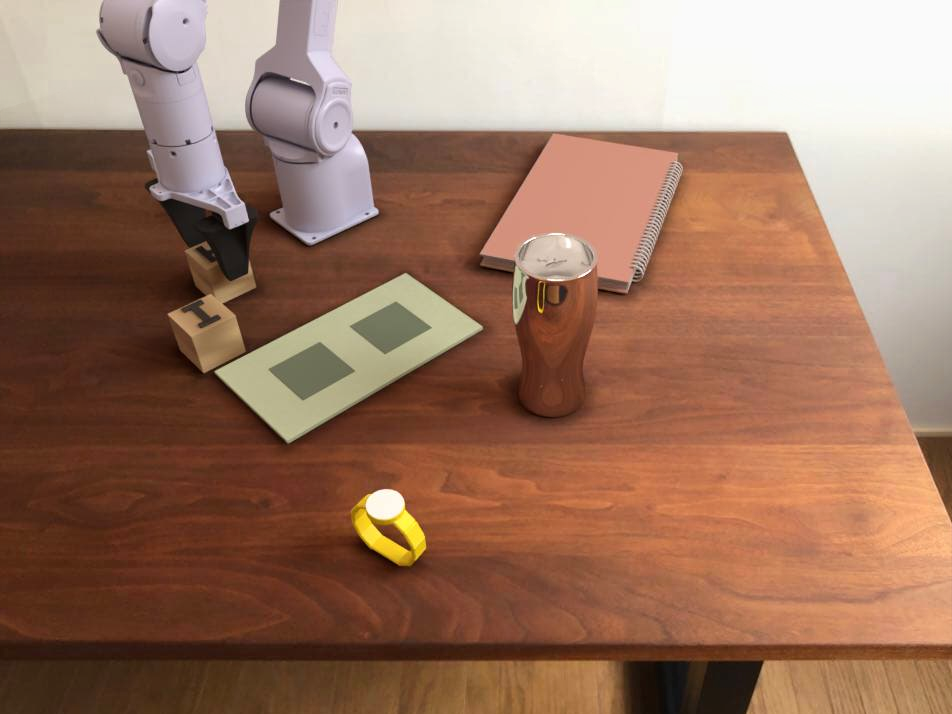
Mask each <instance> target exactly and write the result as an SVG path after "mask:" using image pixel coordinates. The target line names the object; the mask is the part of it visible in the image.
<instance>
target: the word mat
mask: <svg viewBox="0 0 952 714" xmlns="http://www.w3.org/2000/svg"><path fill="white" fill-rule="evenodd" d="M483 330H484V328H483V325H481V324H479V323H478V322H477V321H475V320H474V319H473V318H471V317H470V316H468V315H467V314H465V313H464V312H462V311H461V310H460V309H458V308H457V307H455V306H454V305H453V304H451V303H450V302H448V301H446V299H444V298H443V297H441V296H440V295H438V294H437V293H435V292H434V291H433V290H431V289H429V288H428V287H427V286H425V284H423V283H421V282H419V281H418V280H417V279H416V278H414V277H412V276H411V275H409V274H408V273H407V272H404V273H403V274H401V275H399V276H397V277H394V278H393V279H390V280H389V281H387V282H385V283H384V284H381V285H379V286H378V287H376V288H373V289H371V290H369V291H367V292H366V293H364V294H362V295H360V296H358V297H356V298H354V299H352V300H350V301H348V302H346V303H344V304H342V305H340V306H338V307H337V308H335V309H332V310H331V311H329V312H327V313H324V314H323V315H321V316H318V317H317V318H315V319H313V320H311V321H310V322H307V323H305V324H303V325H302V326H300V327H297V328H295V329H293V330H291V331H289V332H288V333H285V334H284V335H282V336H280V337H277V338H276V339H274V340H273V341H270V342H269V343H267V344H264V345H263V346H260V347H258V348H257V349H255V350H253V351H251V352H249V353H246V354H245V355H243V356H242V357H240V358H239V357H238V358H237V359H235V360H234V361H232V362H230V363H228V364H226V365H224V366H222V367H220V368H218V369H216V370H214V375H216V377H217V378H219V380H220V381H221V382H222V383H224V384H225V385H226V386H227V387H228V388H229V389H230V390H231V391H232V392H233V393H234V394H235V395H236V396H237V397H238V398H239V399H240V400H241V401H243V403H245V404H246V406H247V407H249V408H250V409H251V410H252V411H253V413H255V414H256V415H257V416H258V417H259V418H260V419H261V420H262V421H263V422H264V423H265V424H266V425H267V426H268V427H270V428H271V429H272V430H273V432H275V433H276V435H278V436H279V437H280V438H281V439H282V440H283V441H284V442H285V443H286V444H290V443H292V442H294V441H295V440H297V439H299V438H301V437H302V436H304V435H306V434H307V433H309V432H311V431H313V430H315V429H316V428H318V427H319V426H321V425H323V424H325V423H327V422H328V421H329V420H331V419H333V418H335V417H337V416H338V415H340V414H342V413H343V412H344V411H345V412H346V410H348V409H350V408H352V407H354V406H355V405H357V404H359V403H360V402H362V401H364V400H365V399H367V398H369V397H370V396H372V395H374V394H376V393H377V392H379V391H381V390H382V389H384V388H386V387H387V386H390V384H393V383H395V382H396V381H398V380H399V379H401V378H403V377H404V376H406V375H408V374H410V373H412V372H413V371H414V370H417V369H418V368H420V367H422V366H424V365H425V364H427V363H428V362H430V361H431V360H434V359H435V358H437V357H439V356H440V355H442V354H444V353H445V352H447V351H450V350H451V349H453V348H454V347H456V346H457V345H459V344H461V343H462V342H464V341H466V340H468V339H469V338H471V337H473V336H474V335H476V334H478V333H479V332H482V331H483Z"/></svg>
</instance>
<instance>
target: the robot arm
mask: <svg viewBox="0 0 952 714" xmlns="http://www.w3.org/2000/svg"><path fill="white" fill-rule="evenodd" d="M206 2H207V0H102V2H101V5H100V7H99V13H98V21H99V22H98V23H99V28H97V29H96V30H95V33H96V36H97V38H98V40H99V42H100V43H101V45H102V46H103V47H104V48H105V49H106V51H108V52H109V53H110V54H112V55H113V56H114V57H116V59H117V60H118V62H119V65H120V67H121V71H122V74H123V75H126V76H127V79H128V83H129V85H130V88H131V91H132V95H133V98H134V102H135V104H136V107H137V110H138V114H139V117H140V121H141V124H142V126H143V130H144V133H145V136H146V138H147V142H148V144H149V149H148V150H146V154H147V158H148V162H149V164H150V166H151V169H152V170H153V171H154V172H155V174H156V178H153V179H150V180H149V181H147V182H146V183H145V184H144V189H145V190H146V191H147V192H148V193H149V194H150V195H151V196H152V197H153V198H154V199H155V200H156V201H157V202H158V203H159V204H160V206H161V207H162V208H163V210H164V211H165V213H166V214H167V216H168V217H169V219H170V221H172V223H173V226H174V227H175V229H176V230H177V232H178V234H179V235H180V237H181V239H182V240H183V242H184V243H185V244H186V246H187V247H188V248H191V247H194V246H196V245H198V244H201V243H203V242H205V241H206V242H207V243H208V245H209V246H210V248H211V250H212V251H213V253H214V255H215V258H216V260H217V262H218V264H219V267H220V269H221V271H222V273H223V274H224V276H225V277H226V278H227V279H228V280H229V281H233V280H235V279H237V278H240V277H242V276H244V275H246V274H248V270H249V261H250V249H251V248H250V247H251V241H252V236H253V233H254V230H255V227H256V225H257V223H258V221H259V214H258V210H257V209H256V208H254V207H253V206H252V205H250V204H249V203H248V204H246V203H245V202H244V201H243V200H241V198H240V197H239V196H238V194H237V191H236V188H235V186H234V183H233V181H232V178H231V176H230V173H229V170H228V168H227V167H226V166H225V165H224V160H223V156H222V153H221V149H220V144H219V141H218V137H217V132H216V129H215V126H214V122H213V118H212V117H213V116H212V113H211V110H210V106H209V102H208V99H207V98H208V97H207V94H206V91H205V86H204V83H203V79H202V76H201V75H202V74H201V72H200V67H199V63H198V59H200V56H201V54H202V53H203V52H204V51H205V47H206V43H207V27H206V17H207V15H208V13H209V12H208V10H207V9H208V5H207V3H206ZM338 2H339V0H279V3H278V4H279V6H278V14H277V15H278V16H277V25H276V35H275V44H274V46H272V47H271V48H270V49H268V50H267V51H266V52H264V53H263V54H262V55H261V56H259V57H258V58H257V59H256V60H255V62H254V73H253V78H252V81H251V82H250V85H249V88H248V90H247V92H246V96H245V100H244V111H245V118H246V121H247V123H248V125H249V126H250V128H251V129H252V130H253V131H254V132H255V133H257V134H258V135H261V136H262V138H263V139H262V140H263V143H264V146H265V147H268V148H269V150H270V154H271V159H272V163H273V168H274V173H275V176H276V181H277V186H278V190H279V195H280V200H281V204H282V207H281V208H278V209H276V210H273V211H272V212H270V213H269V217H270V219H271V220H272V221H274V222H275V223H276V224H278V225H279V226H280V227H282V228H284V229H285V230H286V231H288V232H289V233H290V234H291V235H293V236H294V237H295V238H297V239H298V240H300V242H302V243H304V244H305V245H306V246H314V245H316V244H317V243H320V242H322V241H325V240H326V239H329V238H330V237H333V236H335V235H338V234H339V233H341V232H344V231H345V230H348V229H350V228H352V227H355V226H356V225H358V224H361V223H363V222H365V221H367V220H369V219H371V218H373V217H377V216H378V215H379V213H380V212H379V209H378V208H376V207H375V202H374V196H373V187H372V180H371V173H370V166H369V160H368V157H367V154H366V152H365V149H364V147H363V145H362V143H361V142H360V140H359V139H358V137H357V136H356V135H355V134H354V133H353V128H354V112H353V106H352V99H351V94H352V86H353V83H352V80H351V79H350V78H349V76H348V75H347V74H346V72H345V71H344V70H343V68H342V67H341V66H340V65H339V63H338V62H337V61H336V59H335V58H334V57H333V47H334V39H335V30H336V22H337V21H336V20H337V12H338ZM296 80H297V81H296ZM207 210H208V211H210V213H211V215H209V216H207V213H206V211H207Z"/></svg>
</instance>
